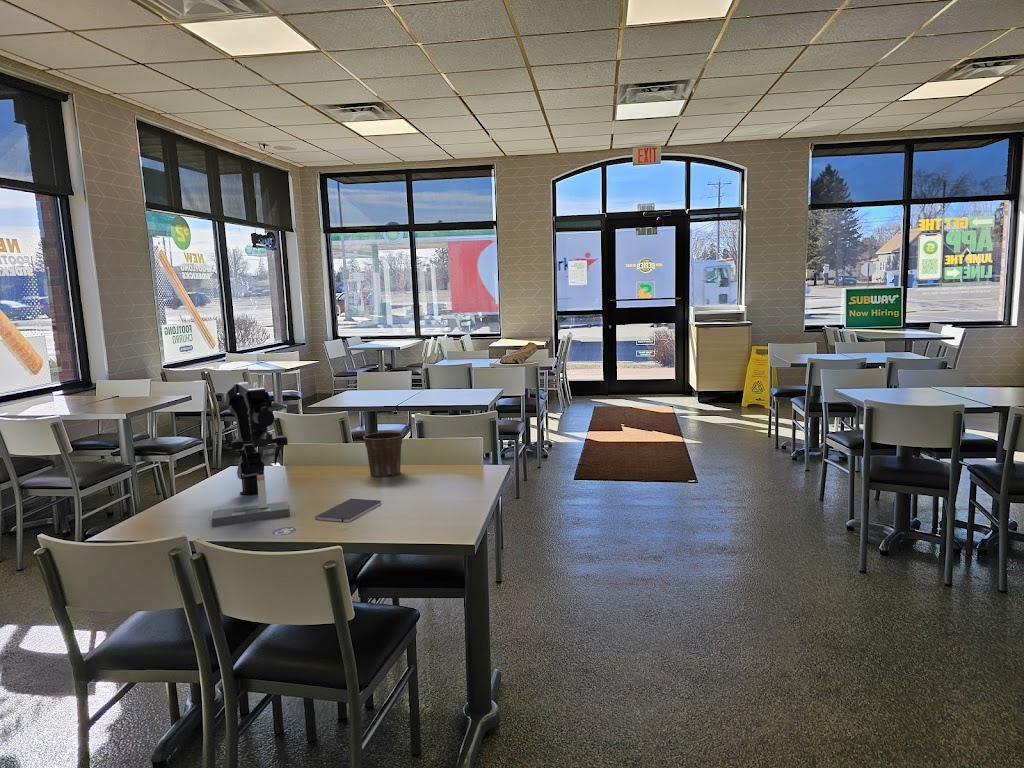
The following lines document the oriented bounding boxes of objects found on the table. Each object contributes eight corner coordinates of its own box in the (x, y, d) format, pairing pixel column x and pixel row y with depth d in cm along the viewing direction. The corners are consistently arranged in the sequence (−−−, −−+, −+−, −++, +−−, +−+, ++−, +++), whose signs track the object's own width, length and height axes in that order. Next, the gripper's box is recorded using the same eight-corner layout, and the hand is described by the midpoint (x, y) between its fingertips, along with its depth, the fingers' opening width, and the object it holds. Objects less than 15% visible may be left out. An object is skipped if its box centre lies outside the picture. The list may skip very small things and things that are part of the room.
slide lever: (259, 508, 233) (256, 477, 232) (259, 506, 236) (256, 475, 235) (267, 507, 234) (264, 476, 233) (266, 505, 237) (264, 474, 236)
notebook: (351, 502, 248) (315, 520, 228) (350, 498, 248) (315, 516, 228) (382, 504, 244) (349, 523, 224) (382, 500, 244) (348, 518, 224)
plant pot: (373, 469, 296) (370, 431, 295) (410, 468, 294) (408, 431, 292) (359, 478, 280) (357, 439, 279) (398, 478, 278) (396, 438, 276)
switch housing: (212, 525, 225) (211, 518, 225) (213, 517, 235) (213, 510, 234) (290, 515, 234) (289, 508, 233) (288, 507, 243) (288, 500, 243)
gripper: (229, 429, 238) (233, 474, 240) (286, 424, 244) (290, 467, 246) (230, 424, 248) (233, 467, 250) (285, 419, 255) (288, 461, 257)
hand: (261, 466), depth 250 cm, fingers open, 9 cm apart
